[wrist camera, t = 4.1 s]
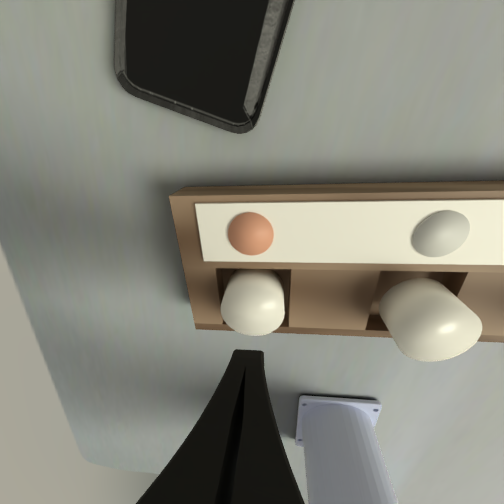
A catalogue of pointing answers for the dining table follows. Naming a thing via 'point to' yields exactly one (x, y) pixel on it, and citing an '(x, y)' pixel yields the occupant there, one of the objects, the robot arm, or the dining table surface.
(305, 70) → the dining table surface
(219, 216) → the pattern card
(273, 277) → the end button
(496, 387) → the dining table surface
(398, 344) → the middle button
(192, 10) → the phone
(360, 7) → the dining table surface
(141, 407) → the dining table surface
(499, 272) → the button board
